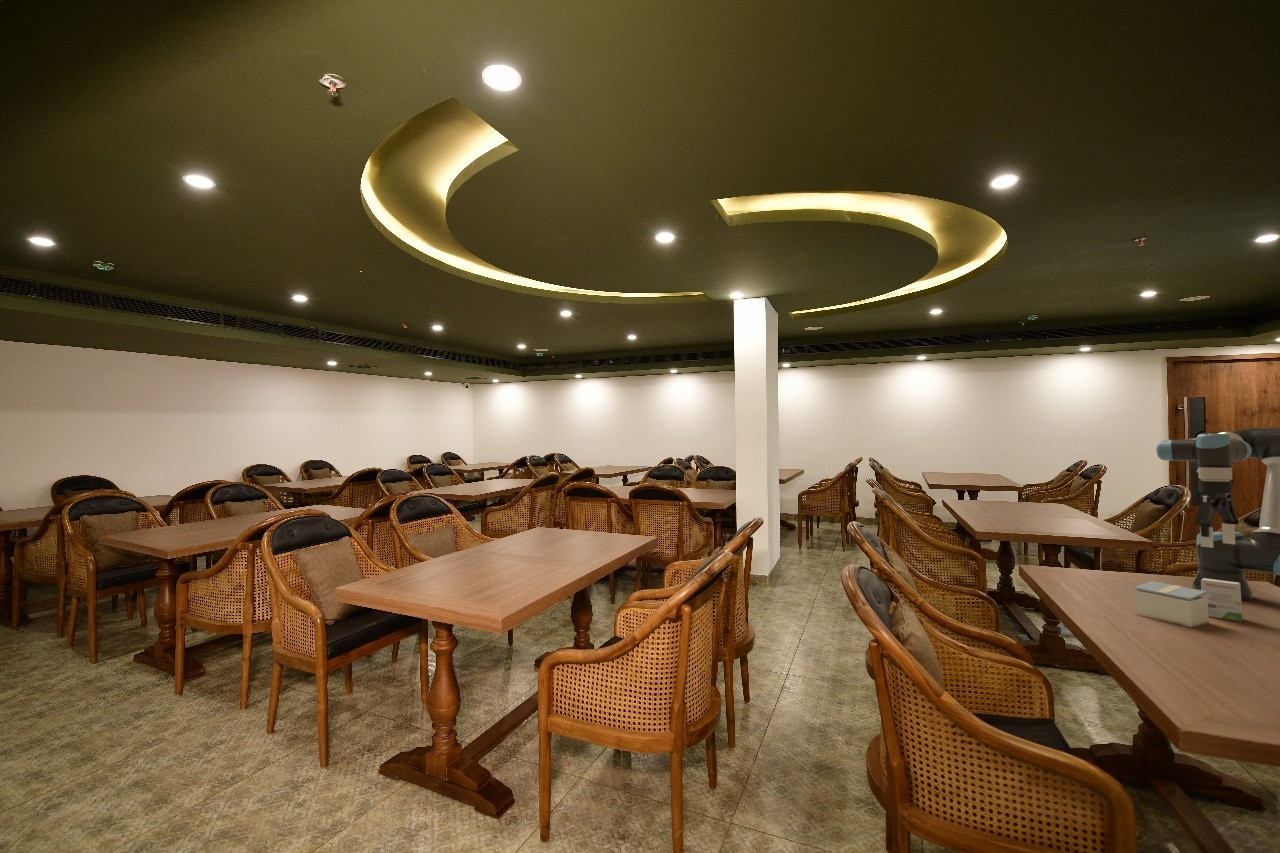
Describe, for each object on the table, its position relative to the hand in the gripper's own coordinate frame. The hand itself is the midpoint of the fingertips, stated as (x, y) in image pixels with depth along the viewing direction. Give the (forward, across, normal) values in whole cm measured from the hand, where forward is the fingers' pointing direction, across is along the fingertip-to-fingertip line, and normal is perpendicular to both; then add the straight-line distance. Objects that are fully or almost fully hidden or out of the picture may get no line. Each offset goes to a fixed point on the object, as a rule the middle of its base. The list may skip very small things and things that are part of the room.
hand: (1218, 545), depth 172 cm
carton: (+23, +16, -6) cm, 29 cm away
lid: (+15, +16, -6) cm, 22 cm away
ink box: (+24, 0, 0) cm, 24 cm away
